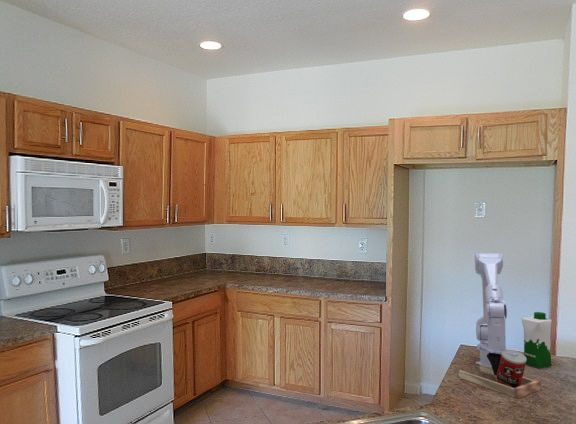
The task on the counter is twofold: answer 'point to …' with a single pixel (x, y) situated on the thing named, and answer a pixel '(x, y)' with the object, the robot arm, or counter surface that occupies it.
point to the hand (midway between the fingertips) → (497, 374)
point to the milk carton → (537, 340)
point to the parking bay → (518, 392)
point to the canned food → (511, 369)
